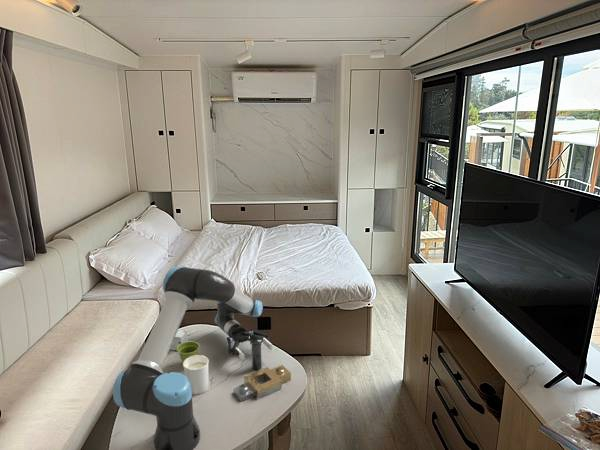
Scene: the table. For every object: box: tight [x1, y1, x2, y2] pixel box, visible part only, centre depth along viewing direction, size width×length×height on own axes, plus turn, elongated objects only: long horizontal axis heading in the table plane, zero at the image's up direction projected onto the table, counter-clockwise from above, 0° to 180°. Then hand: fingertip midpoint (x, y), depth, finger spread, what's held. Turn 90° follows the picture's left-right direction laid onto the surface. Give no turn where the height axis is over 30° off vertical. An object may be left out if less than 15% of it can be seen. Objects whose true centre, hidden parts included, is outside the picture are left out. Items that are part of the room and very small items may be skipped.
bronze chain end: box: [243, 364, 292, 395], centre depth 170 cm, size 17×11×4 cm, turn 125°
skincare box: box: [170, 329, 189, 351], centre depth 195 cm, size 6×6×7 cm
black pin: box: [249, 336, 263, 372], centre depth 179 cm, size 5×5×14 cm
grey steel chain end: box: [232, 377, 282, 403], centre depth 167 cm, size 17×11×3 cm, turn 125°
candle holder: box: [182, 354, 209, 396], centre depth 166 cm, size 10×10×12 cm
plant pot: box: [176, 340, 200, 366], centre depth 182 cm, size 9×9×9 cm
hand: (257, 352), depth 179 cm, fingers open, 13 cm apart
